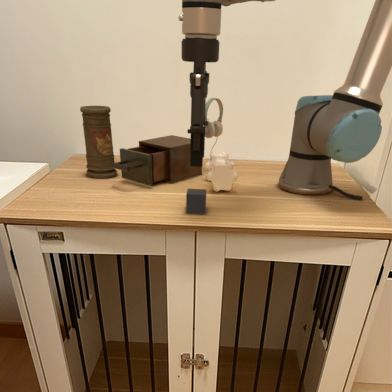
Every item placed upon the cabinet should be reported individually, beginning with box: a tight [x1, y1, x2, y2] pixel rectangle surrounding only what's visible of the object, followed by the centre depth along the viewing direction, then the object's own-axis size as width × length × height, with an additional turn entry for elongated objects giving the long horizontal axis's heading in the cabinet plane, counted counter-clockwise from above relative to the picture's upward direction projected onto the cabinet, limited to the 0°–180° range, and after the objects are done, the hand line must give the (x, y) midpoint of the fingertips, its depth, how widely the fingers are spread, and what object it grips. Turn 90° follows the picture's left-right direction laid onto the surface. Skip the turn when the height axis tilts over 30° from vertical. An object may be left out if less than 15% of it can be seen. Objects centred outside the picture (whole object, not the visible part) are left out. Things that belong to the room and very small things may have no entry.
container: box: [79, 105, 118, 179], centre depth 120 cm, size 9×9×18 cm
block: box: [185, 188, 207, 215], centre depth 99 cm, size 5×5×5 cm
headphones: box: [205, 97, 224, 152], centre depth 128 cm, size 8×4×20 cm, turn 139°
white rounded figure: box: [204, 150, 239, 193], centre depth 116 cm, size 15×9×8 cm, turn 2°
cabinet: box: [138, 134, 203, 184], centre depth 124 cm, size 15×13×10 cm
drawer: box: [109, 145, 169, 186], centre depth 117 cm, size 20×11×8 cm, turn 141°
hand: (197, 161), depth 94 cm, fingers open, 8 cm apart
